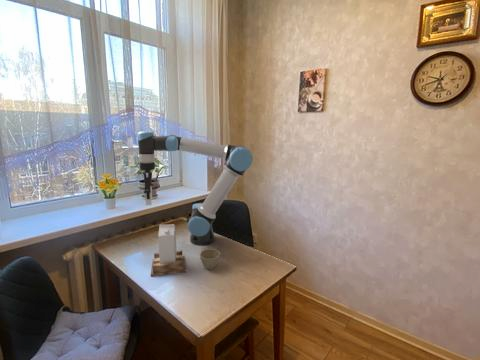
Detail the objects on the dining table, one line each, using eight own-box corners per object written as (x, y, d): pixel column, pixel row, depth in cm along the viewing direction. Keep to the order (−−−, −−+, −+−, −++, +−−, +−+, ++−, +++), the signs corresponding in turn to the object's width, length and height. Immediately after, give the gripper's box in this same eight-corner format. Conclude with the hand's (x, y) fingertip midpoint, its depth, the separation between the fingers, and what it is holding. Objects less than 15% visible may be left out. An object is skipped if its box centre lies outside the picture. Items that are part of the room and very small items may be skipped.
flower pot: (203, 274, 118) (203, 260, 116) (197, 264, 126) (197, 251, 125) (223, 269, 122) (223, 256, 121) (215, 259, 131) (215, 247, 129)
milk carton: (162, 257, 126) (160, 222, 122) (176, 256, 127) (175, 221, 123) (159, 264, 119) (157, 227, 115) (174, 264, 120) (173, 227, 116)
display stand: (184, 257, 132) (184, 249, 131) (185, 271, 119) (185, 263, 118) (152, 260, 128) (152, 252, 127) (150, 276, 115) (150, 267, 114)
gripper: (141, 158, 139) (143, 195, 143) (137, 165, 116) (139, 208, 120) (155, 158, 141) (156, 194, 146) (154, 165, 118) (156, 207, 123)
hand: (149, 201), depth 133 cm, fingers open, 13 cm apart
